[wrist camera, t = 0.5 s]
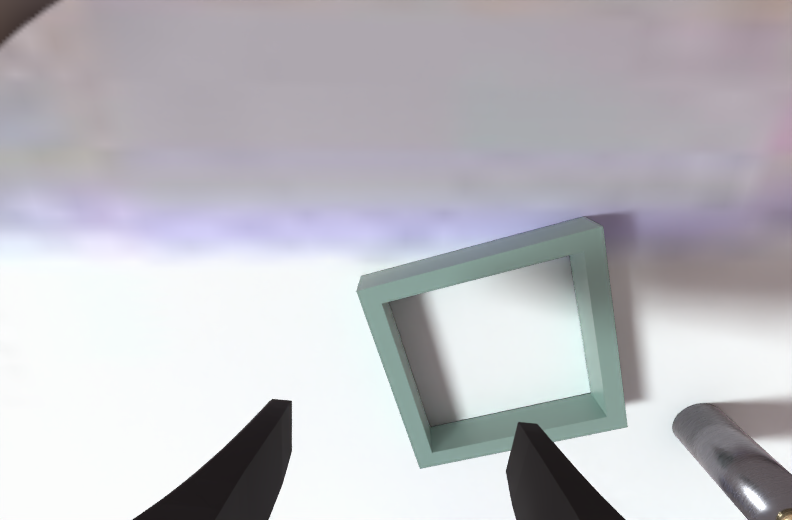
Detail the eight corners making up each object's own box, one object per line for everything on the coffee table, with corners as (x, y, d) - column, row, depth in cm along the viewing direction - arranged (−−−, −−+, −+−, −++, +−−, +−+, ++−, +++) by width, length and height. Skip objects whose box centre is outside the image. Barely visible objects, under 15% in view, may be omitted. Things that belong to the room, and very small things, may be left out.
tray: (609, 402, 23) (627, 427, 21) (418, 442, 25) (420, 468, 23) (583, 216, 20) (603, 226, 18) (360, 276, 21) (356, 291, 19)
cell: (724, 436, 24) (831, 542, 18) (673, 446, 24) (762, 553, 18) (723, 398, 23) (835, 496, 17) (670, 409, 23) (763, 508, 17)
